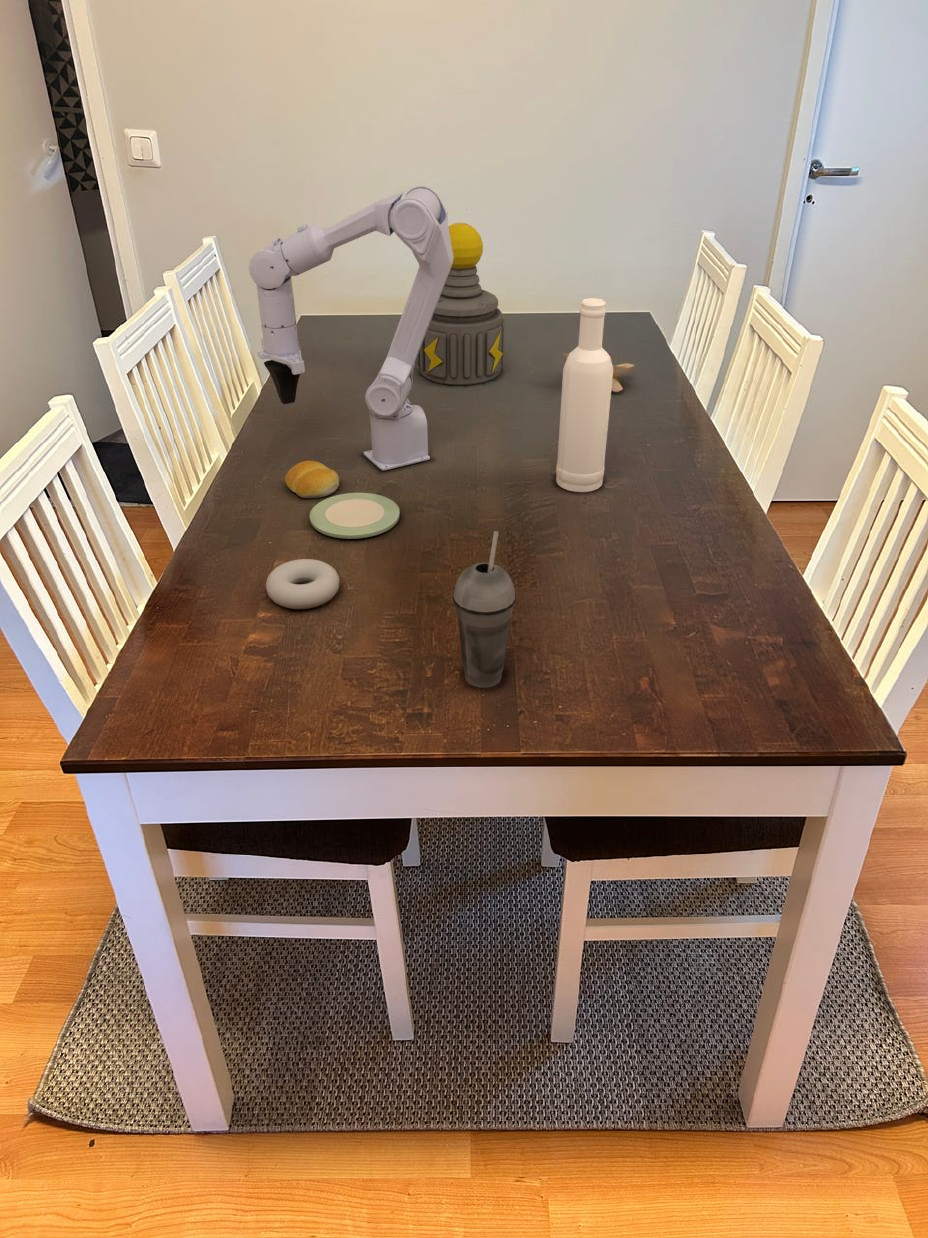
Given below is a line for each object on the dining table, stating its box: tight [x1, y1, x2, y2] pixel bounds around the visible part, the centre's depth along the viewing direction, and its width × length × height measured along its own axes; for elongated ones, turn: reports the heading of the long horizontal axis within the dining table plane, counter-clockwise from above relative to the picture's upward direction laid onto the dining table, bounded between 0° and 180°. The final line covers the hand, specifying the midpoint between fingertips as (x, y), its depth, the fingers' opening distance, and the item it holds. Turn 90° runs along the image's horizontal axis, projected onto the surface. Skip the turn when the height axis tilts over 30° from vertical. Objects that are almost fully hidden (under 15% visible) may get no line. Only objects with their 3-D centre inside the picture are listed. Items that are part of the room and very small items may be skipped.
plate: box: [309, 492, 401, 540], centre depth 145 cm, size 14×14×1 cm
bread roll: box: [284, 460, 340, 499], centre depth 153 cm, size 8×9×4 cm
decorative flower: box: [560, 352, 636, 393], centre depth 190 cm, size 15×11×10 cm
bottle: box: [555, 297, 613, 493], centre depth 148 cm, size 8×8×30 cm
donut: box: [265, 558, 341, 610], centre depth 127 cm, size 10×4×10 cm
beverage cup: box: [452, 530, 517, 689], centre depth 107 cm, size 7×7×20 cm
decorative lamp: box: [416, 222, 505, 387], centre depth 191 cm, size 19×19×30 cm
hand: (287, 402), depth 161 cm, fingers closed
